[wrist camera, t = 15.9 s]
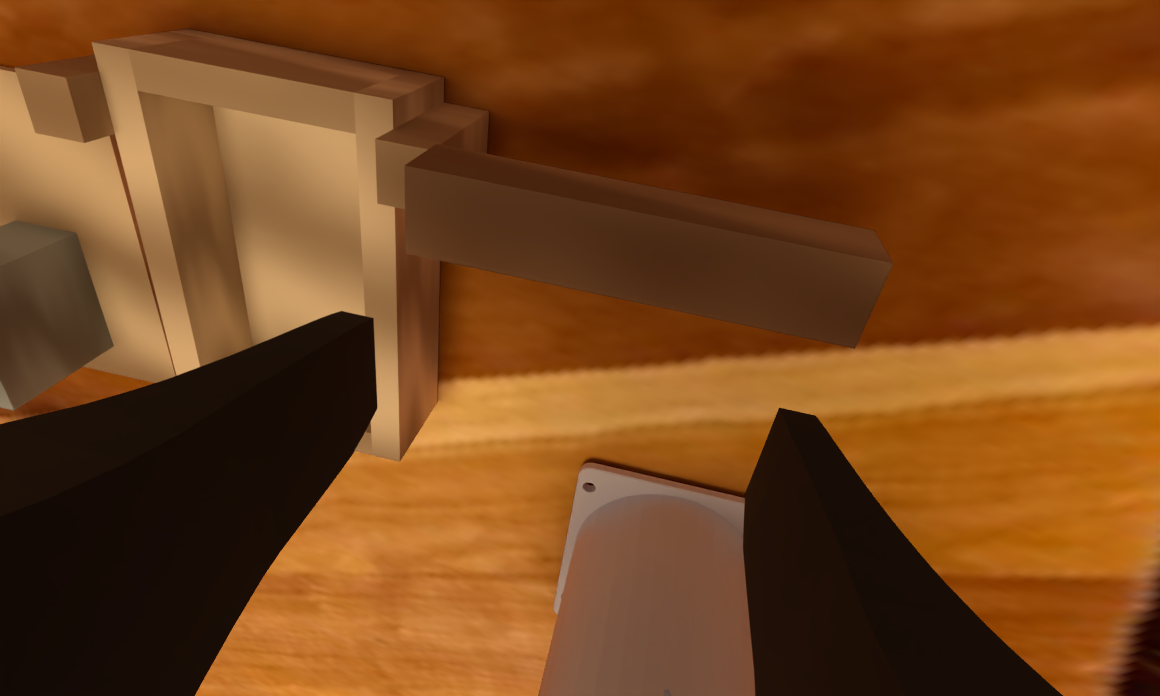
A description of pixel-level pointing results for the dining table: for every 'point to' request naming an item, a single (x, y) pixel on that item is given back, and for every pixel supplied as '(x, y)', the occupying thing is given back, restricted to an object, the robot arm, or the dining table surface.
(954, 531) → the dining table surface
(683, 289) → the rectangular bar
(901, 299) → the dining table surface
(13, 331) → the lid
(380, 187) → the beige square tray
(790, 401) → the dining table surface
